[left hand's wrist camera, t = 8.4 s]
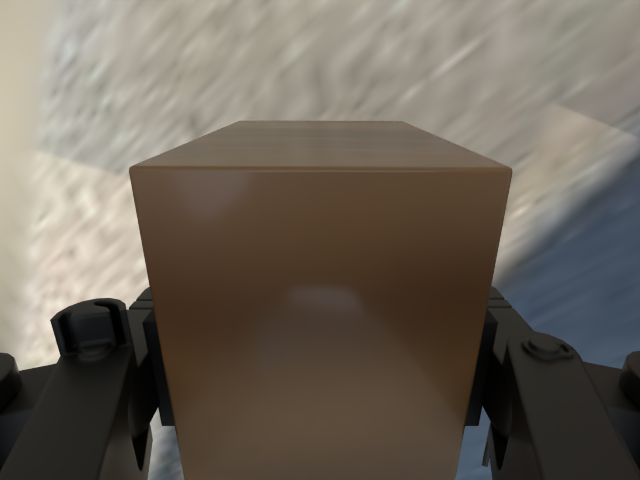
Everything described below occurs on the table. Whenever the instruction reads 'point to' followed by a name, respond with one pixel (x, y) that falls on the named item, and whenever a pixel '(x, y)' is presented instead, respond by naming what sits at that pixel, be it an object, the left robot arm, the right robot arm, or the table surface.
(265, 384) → the beam
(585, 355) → the table surface
